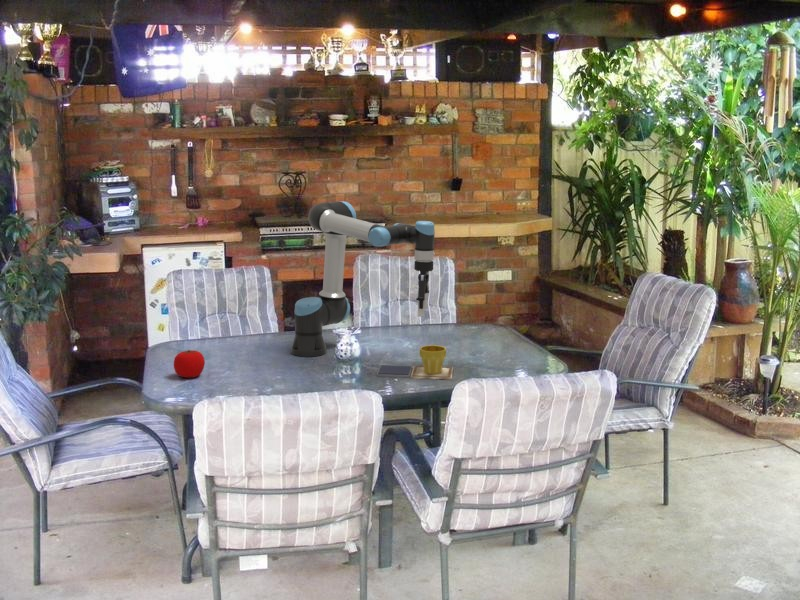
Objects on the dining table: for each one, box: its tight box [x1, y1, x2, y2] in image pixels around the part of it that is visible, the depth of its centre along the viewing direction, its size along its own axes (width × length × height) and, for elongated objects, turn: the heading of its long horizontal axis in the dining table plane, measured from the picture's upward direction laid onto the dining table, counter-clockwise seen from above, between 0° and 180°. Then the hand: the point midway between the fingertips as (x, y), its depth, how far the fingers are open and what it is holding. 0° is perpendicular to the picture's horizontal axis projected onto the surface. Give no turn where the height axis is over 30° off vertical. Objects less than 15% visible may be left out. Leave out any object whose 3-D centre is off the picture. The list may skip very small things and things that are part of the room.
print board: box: [410, 365, 454, 381], centre depth 361 cm, size 16×16×1 cm
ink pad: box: [376, 364, 413, 379], centre depth 363 cm, size 13×13×1 cm
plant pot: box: [419, 344, 447, 374], centre depth 360 cm, size 10×10×10 cm
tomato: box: [173, 350, 206, 379], centre depth 354 cm, size 12×12×10 cm
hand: (422, 312), depth 365 cm, fingers open, 13 cm apart
